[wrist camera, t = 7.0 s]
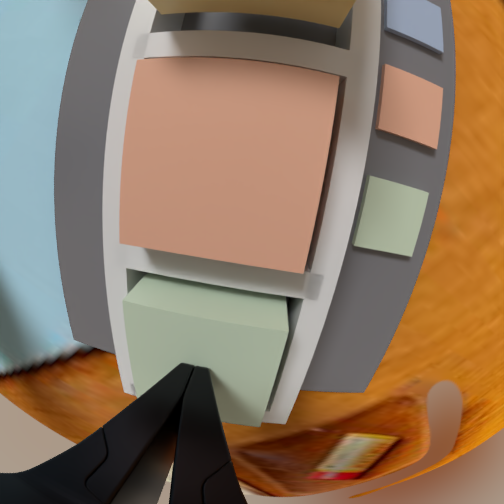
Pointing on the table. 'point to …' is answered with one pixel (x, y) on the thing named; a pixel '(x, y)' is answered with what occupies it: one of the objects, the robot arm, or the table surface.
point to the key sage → (208, 339)
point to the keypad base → (333, 189)
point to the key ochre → (265, 8)
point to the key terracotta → (225, 159)
